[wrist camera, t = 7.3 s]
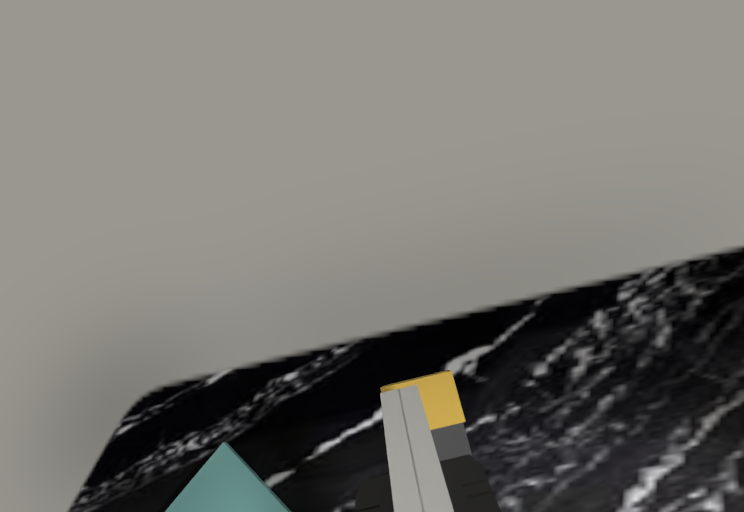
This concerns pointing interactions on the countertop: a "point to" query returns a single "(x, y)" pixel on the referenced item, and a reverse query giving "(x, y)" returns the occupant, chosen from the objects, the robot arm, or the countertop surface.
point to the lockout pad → (227, 488)
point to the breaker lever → (441, 412)
